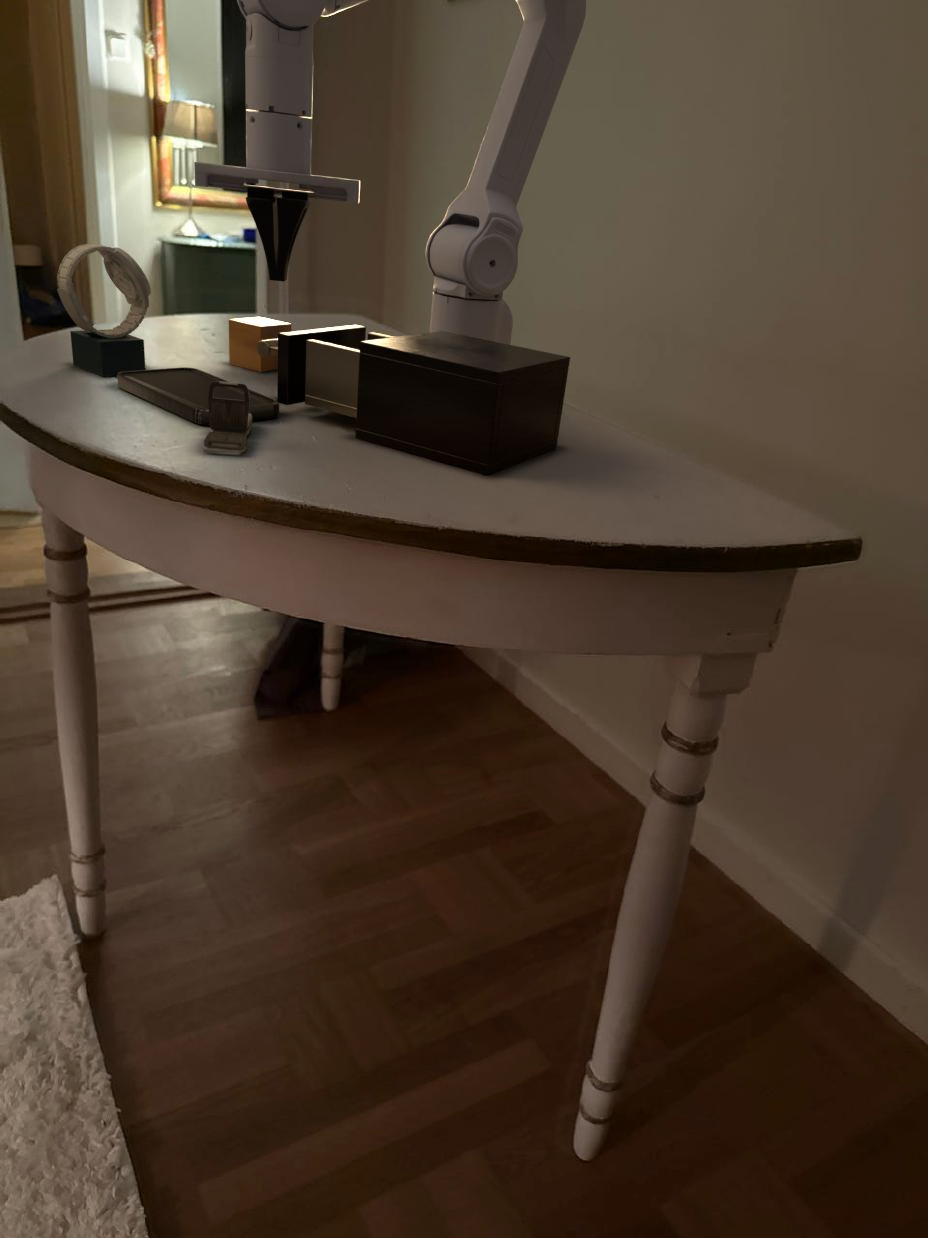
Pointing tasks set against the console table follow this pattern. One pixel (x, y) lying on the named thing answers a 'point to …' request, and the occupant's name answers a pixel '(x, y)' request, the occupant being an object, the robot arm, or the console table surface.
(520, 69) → the robot arm
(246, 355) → the block
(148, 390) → the phone
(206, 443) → the strap clip
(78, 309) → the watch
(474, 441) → the dark brown box
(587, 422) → the console table surface
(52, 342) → the console table surface
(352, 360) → the drawer
